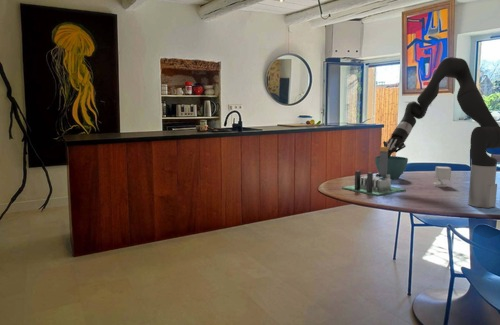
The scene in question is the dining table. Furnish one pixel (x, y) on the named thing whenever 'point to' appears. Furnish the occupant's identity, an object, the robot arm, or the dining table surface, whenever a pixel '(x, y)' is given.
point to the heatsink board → (373, 185)
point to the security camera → (442, 175)
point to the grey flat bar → (383, 162)
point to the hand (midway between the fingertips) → (386, 156)
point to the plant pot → (394, 166)
